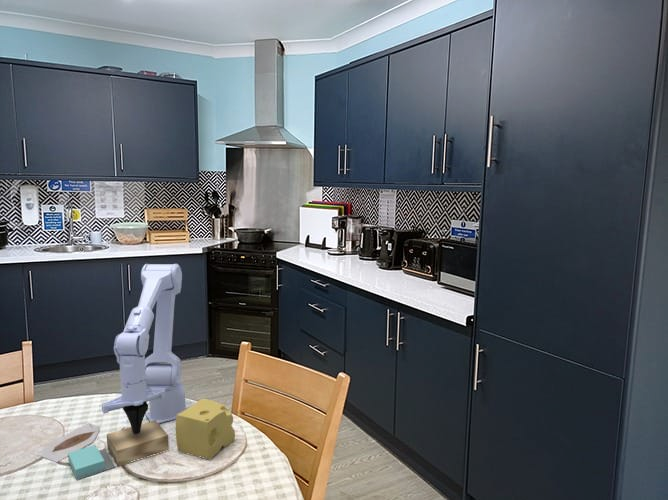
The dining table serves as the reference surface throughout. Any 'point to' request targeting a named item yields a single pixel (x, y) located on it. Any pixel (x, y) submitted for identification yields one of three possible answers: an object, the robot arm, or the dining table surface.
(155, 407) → the robot arm
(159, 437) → the block
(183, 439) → the cheese
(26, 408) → the dining table surface
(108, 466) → the mat
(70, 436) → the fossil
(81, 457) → the turquoise rectangular block
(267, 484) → the dining table surface
